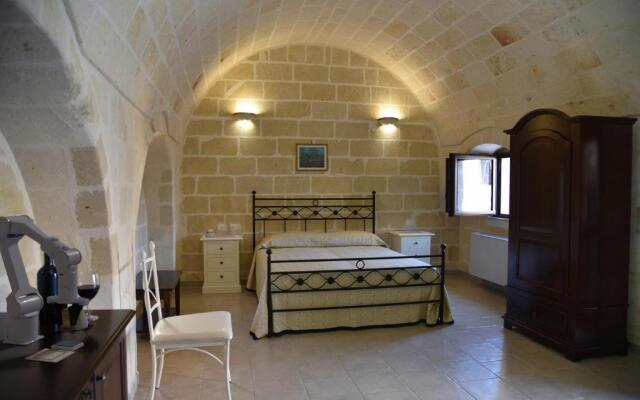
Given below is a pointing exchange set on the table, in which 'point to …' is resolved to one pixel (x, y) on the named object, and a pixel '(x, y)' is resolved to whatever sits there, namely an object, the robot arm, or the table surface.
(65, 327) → the stamp
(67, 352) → the paper sheet
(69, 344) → the ink pad
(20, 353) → the table surface
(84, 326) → the flask
